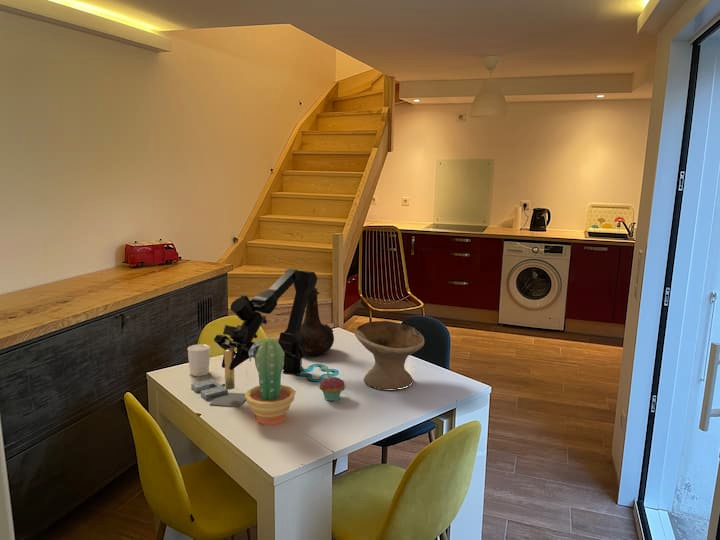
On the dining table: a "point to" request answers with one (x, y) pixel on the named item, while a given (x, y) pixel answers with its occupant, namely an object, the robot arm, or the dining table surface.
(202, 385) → the vise
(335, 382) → the cupcake
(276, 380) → the potted cactus
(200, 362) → the white cup
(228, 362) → the brass rod
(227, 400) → the rubber mat
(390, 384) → the bowl
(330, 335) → the brown vase
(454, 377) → the dining table surface
